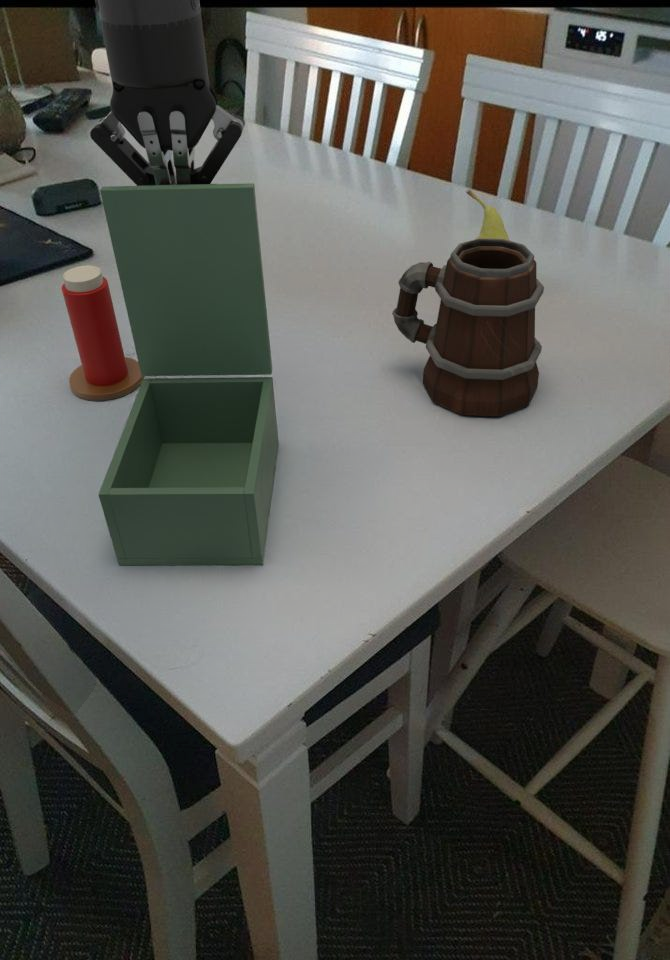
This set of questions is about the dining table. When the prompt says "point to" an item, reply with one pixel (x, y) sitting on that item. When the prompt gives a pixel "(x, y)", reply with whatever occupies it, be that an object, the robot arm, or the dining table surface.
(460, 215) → the dining table surface
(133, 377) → the disc
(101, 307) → the sauce bottle
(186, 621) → the dining table surface
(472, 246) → the mug
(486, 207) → the fruit
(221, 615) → the dining table surface
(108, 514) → the chest
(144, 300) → the chest lid
